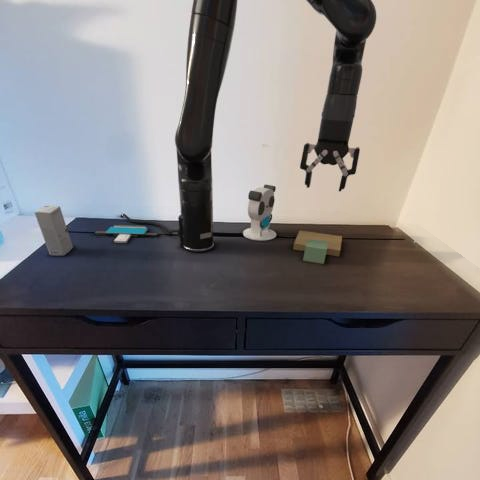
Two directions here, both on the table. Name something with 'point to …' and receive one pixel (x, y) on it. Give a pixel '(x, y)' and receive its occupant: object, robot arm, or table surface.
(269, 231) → the panda figurine
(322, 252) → the green rectangular block
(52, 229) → the cosmetic box
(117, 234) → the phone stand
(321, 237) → the base pad
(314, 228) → the table surface
